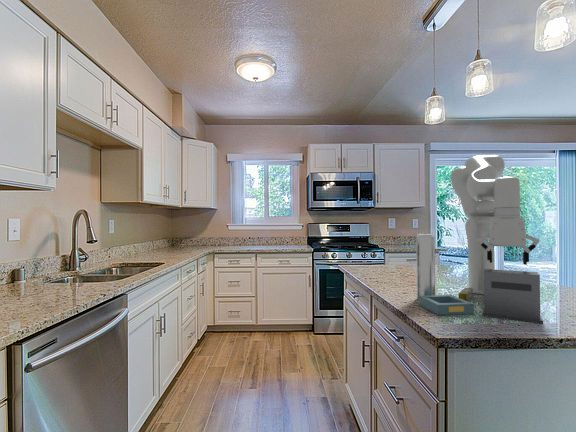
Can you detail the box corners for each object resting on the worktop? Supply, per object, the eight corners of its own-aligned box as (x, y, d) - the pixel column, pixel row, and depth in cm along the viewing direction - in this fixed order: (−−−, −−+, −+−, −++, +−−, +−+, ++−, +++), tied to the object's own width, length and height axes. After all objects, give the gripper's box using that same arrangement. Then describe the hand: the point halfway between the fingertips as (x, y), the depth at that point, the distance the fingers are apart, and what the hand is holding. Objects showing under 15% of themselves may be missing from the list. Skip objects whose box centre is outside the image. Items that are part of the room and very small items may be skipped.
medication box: (465, 297, 125) (465, 287, 125) (473, 298, 123) (473, 287, 123) (458, 303, 116) (458, 292, 116) (466, 304, 114) (466, 293, 114)
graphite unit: (482, 310, 106) (481, 268, 106) (539, 316, 98) (538, 271, 99) (482, 316, 99) (481, 271, 100) (543, 324, 92) (542, 275, 92)
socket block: (451, 304, 113) (451, 294, 113) (474, 314, 101) (474, 303, 101) (419, 305, 112) (418, 295, 112) (438, 316, 100) (438, 305, 100)
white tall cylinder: (437, 302, 117) (436, 234, 117) (418, 301, 118) (418, 234, 118) (433, 297, 123) (432, 233, 123) (415, 297, 124) (414, 233, 125)
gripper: (477, 213, 110) (477, 262, 110) (540, 212, 101) (541, 266, 101) (477, 213, 116) (478, 260, 116) (536, 213, 107) (537, 263, 107)
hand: (507, 263), depth 108 cm, fingers open, 9 cm apart
